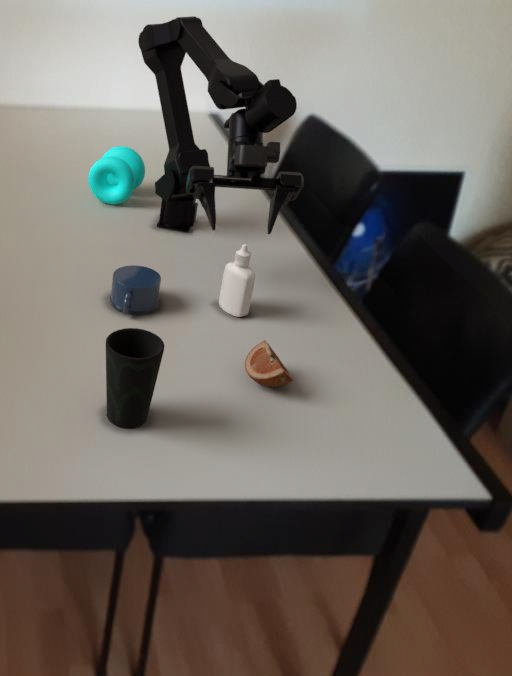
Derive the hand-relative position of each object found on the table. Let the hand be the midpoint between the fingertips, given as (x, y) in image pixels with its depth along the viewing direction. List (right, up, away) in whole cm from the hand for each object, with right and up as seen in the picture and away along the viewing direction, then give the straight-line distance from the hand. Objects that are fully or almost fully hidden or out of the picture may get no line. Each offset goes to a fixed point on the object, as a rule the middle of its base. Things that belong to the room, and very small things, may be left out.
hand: (241, 231), depth 141 cm
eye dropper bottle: (-1, -13, +2) cm, 13 cm away
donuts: (-18, +14, +40) cm, 46 cm away
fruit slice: (0, -25, -15) cm, 30 cm away
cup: (-21, -30, -23) cm, 44 cm away
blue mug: (-18, -12, +3) cm, 21 cm away
